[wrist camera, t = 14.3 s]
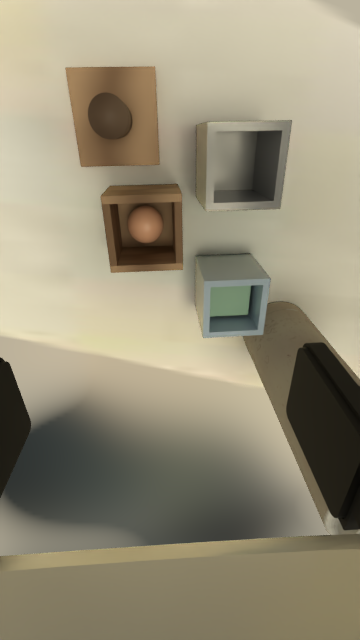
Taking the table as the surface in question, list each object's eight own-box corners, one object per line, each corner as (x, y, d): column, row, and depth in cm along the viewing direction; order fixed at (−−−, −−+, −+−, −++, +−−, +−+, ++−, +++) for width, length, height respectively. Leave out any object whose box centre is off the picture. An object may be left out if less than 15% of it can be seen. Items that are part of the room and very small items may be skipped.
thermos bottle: (289, 360, 42) (468, 659, 18) (234, 349, 41) (347, 660, 17) (317, 308, 39) (589, 599, 14) (257, 295, 37) (447, 593, 13)
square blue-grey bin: (250, 253, 34) (270, 278, 28) (245, 302, 37) (263, 334, 31) (195, 255, 34) (204, 281, 28) (195, 305, 37) (202, 338, 31)
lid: (154, 69, 26) (154, 52, 21) (159, 163, 30) (159, 169, 24) (68, 70, 26) (46, 53, 21) (83, 165, 29) (67, 172, 24)
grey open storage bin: (263, 123, 28) (291, 120, 22) (256, 194, 31) (280, 208, 25) (196, 124, 28) (207, 121, 22) (195, 196, 31) (205, 211, 25)
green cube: (241, 264, 34) (251, 278, 31) (239, 297, 36) (247, 314, 33) (205, 266, 34) (210, 280, 31) (204, 299, 36) (209, 316, 33)
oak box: (177, 184, 30) (181, 193, 25) (178, 249, 34) (182, 269, 28) (110, 185, 30) (100, 196, 25) (117, 251, 33) (111, 272, 28)
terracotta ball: (162, 202, 31) (163, 209, 28) (164, 237, 32) (164, 247, 29) (127, 203, 30) (124, 210, 27) (130, 238, 32) (128, 248, 29)
